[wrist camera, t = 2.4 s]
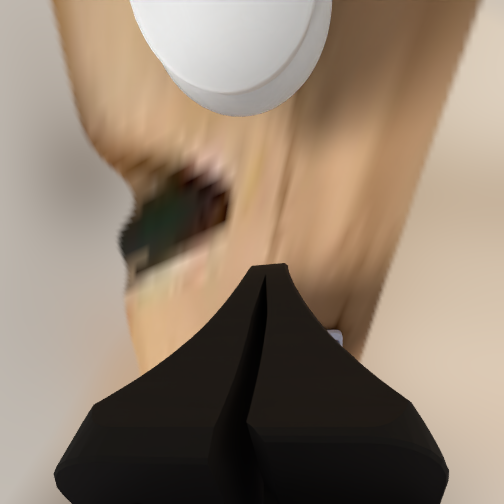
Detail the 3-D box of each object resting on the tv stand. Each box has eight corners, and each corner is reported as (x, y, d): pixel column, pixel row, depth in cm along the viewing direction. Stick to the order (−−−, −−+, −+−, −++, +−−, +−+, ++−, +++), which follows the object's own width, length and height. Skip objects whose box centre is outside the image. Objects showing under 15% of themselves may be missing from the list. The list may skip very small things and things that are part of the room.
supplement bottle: (184, 2, 14) (24, -142, 5) (295, -52, 12) (326, -359, 4) (224, 121, 16) (161, 155, 8) (321, 85, 15) (375, 79, 6)
